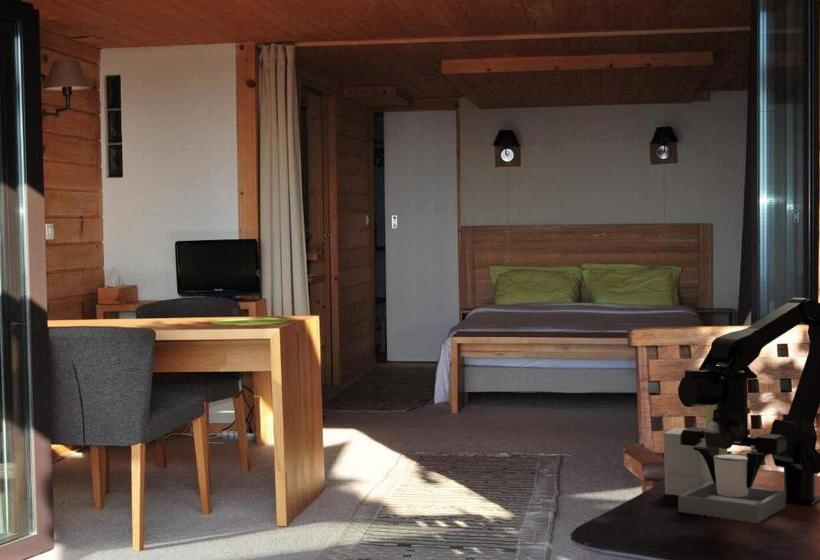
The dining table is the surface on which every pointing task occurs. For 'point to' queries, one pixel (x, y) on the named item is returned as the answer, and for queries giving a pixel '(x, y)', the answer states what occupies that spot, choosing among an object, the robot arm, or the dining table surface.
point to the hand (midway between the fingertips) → (732, 485)
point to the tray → (732, 503)
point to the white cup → (731, 474)
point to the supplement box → (682, 465)
